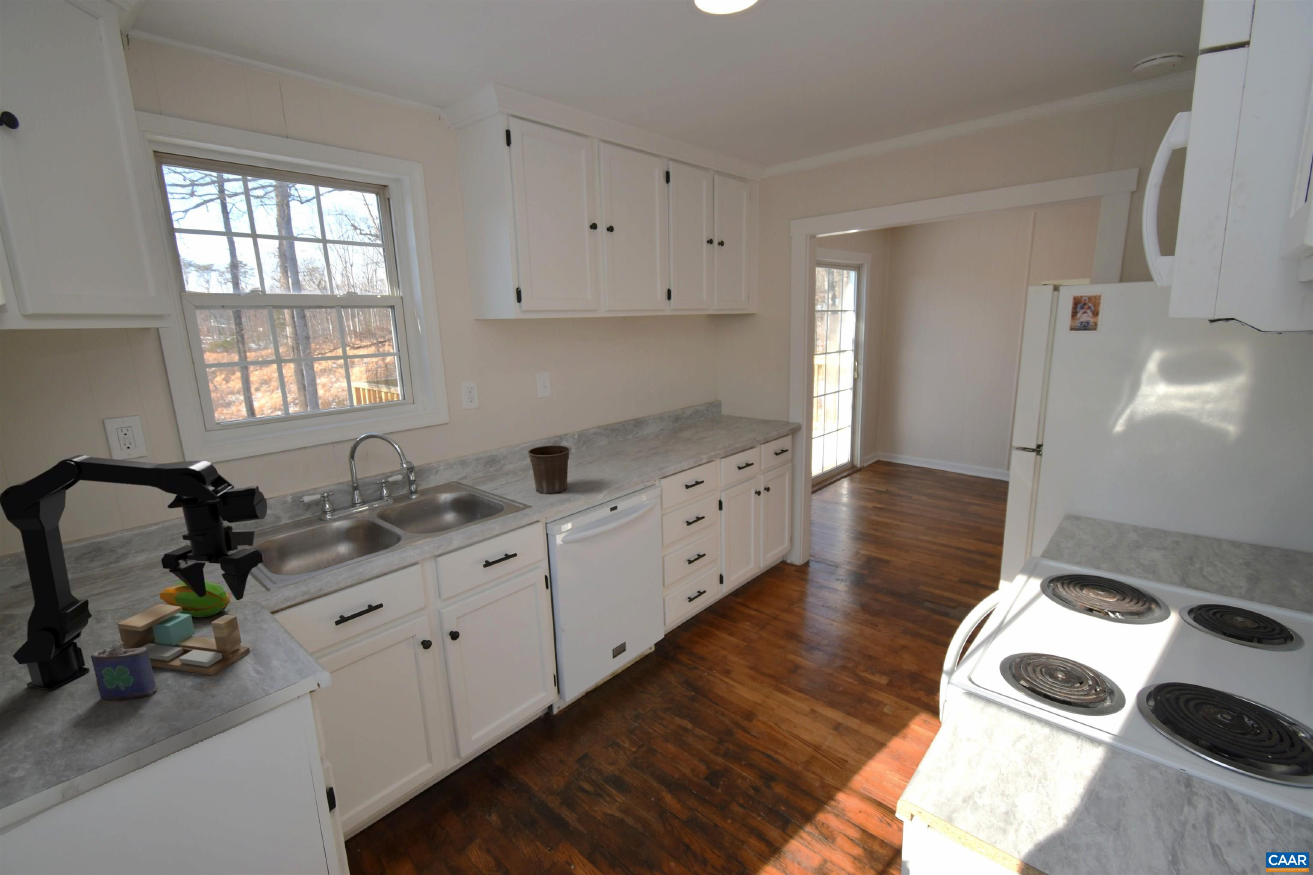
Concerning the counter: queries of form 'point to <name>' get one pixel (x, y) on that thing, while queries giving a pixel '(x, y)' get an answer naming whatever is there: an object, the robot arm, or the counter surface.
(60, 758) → the counter surface
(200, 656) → the strip
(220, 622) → the strip
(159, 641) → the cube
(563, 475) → the plant pot
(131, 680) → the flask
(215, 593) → the corn
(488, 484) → the counter surface
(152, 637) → the board
